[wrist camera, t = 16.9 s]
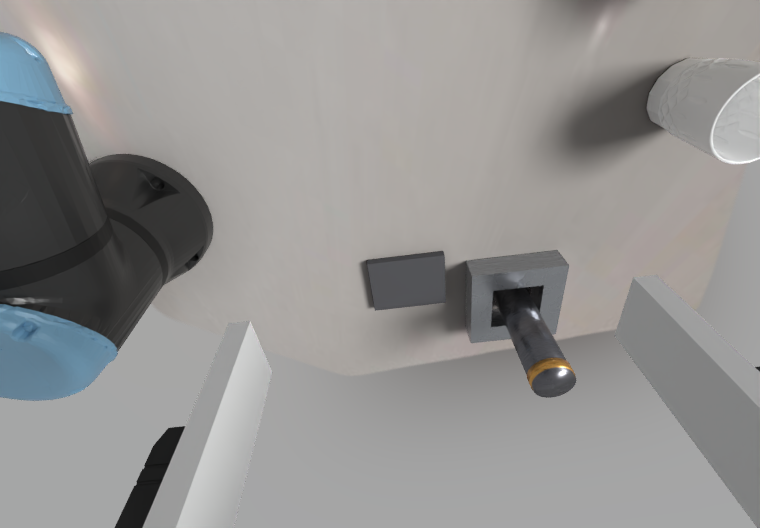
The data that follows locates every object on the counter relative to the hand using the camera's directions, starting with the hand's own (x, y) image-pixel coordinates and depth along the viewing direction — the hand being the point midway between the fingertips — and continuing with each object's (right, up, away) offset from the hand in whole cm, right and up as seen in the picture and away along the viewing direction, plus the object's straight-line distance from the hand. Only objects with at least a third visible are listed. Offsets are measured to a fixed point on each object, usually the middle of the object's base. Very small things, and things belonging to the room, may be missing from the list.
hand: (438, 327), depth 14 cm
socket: (+16, -1, +40) cm, 43 cm away
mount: (+2, 0, +39) cm, 39 cm away
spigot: (+16, -1, +40) cm, 43 cm away
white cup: (+29, +20, +26) cm, 44 cm away
